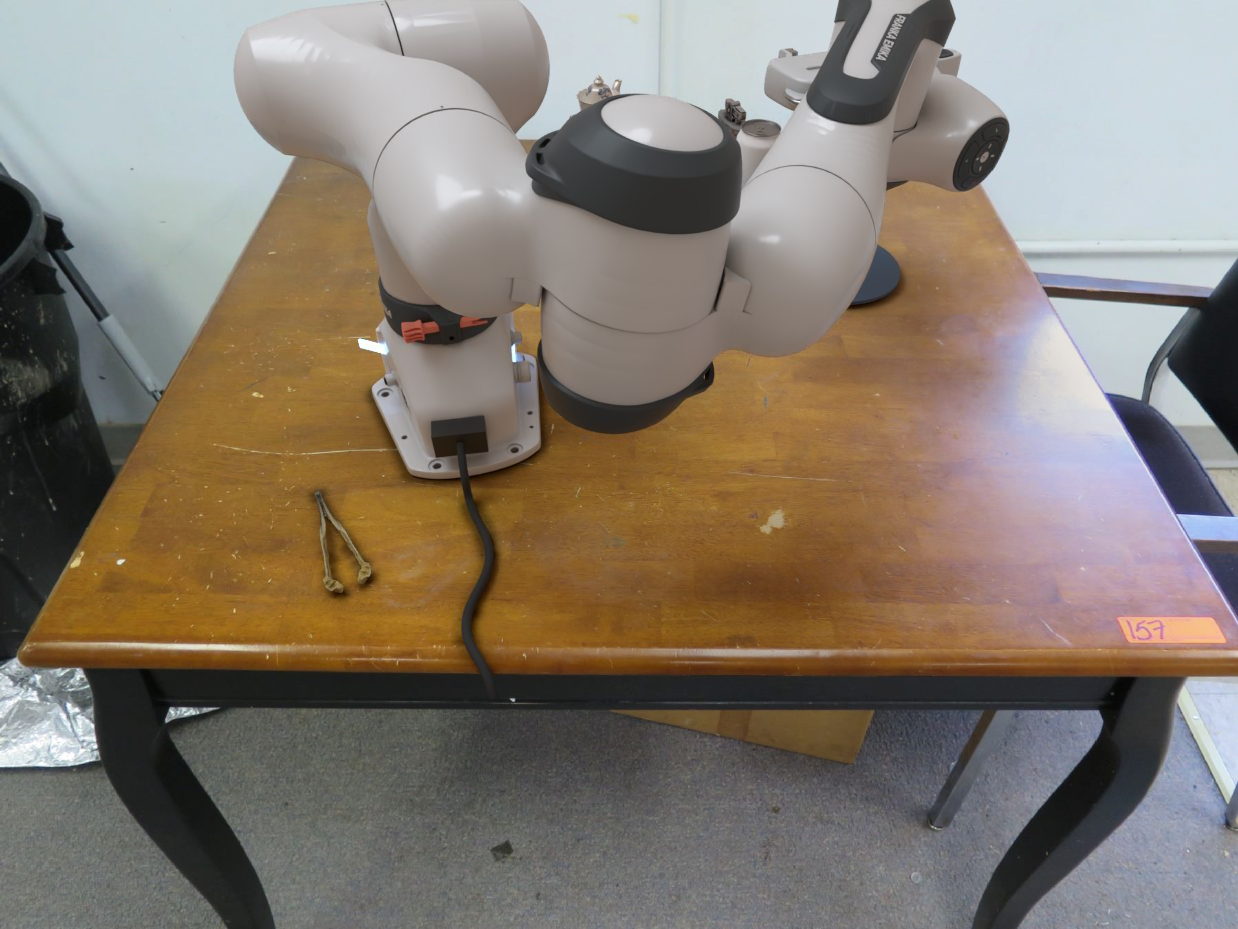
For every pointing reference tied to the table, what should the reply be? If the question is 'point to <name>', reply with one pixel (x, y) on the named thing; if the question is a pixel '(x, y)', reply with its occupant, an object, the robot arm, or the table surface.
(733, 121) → the lighter
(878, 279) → the lid
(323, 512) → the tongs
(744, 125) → the can
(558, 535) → the table surface
